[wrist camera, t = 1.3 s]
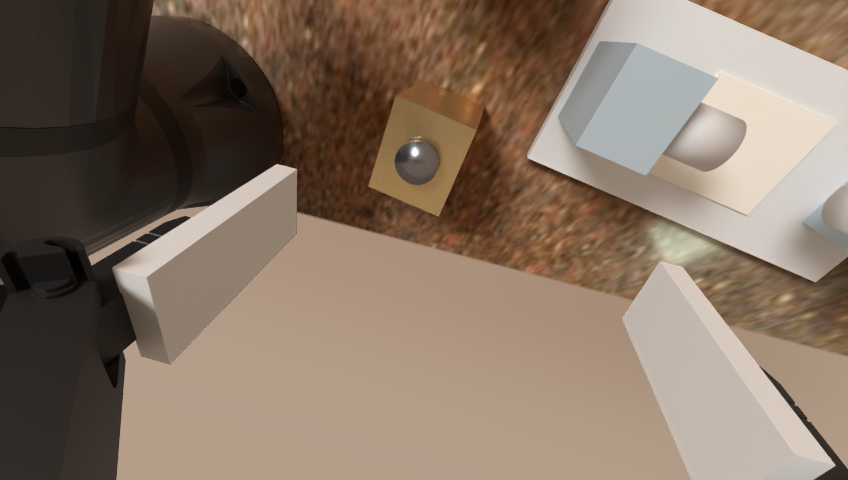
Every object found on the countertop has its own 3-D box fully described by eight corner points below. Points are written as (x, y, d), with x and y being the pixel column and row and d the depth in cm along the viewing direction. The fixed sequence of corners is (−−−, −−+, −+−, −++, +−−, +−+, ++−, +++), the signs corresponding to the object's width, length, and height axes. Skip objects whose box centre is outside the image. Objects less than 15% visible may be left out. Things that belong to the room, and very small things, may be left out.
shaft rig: (526, 154, 28) (533, 198, 21) (622, -24, 22) (682, -56, 15) (806, 274, 29) (915, 363, 21) (979, 131, 22) (1225, 182, 15)
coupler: (399, 152, 31) (363, 190, 23) (424, 80, 27) (391, 97, 20) (454, 176, 31) (436, 222, 23) (484, 106, 27) (475, 133, 20)
